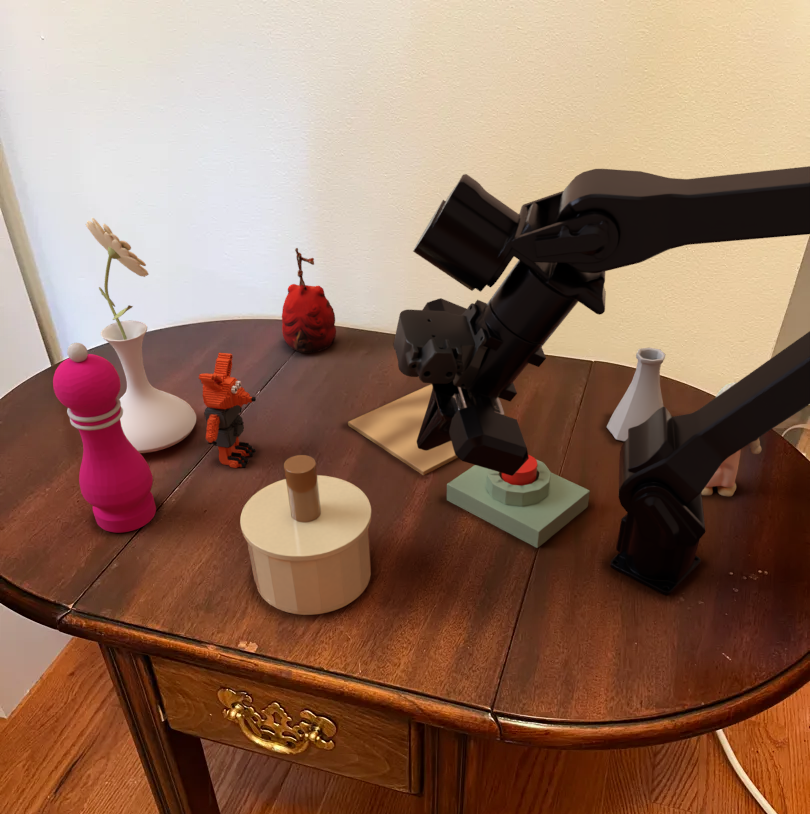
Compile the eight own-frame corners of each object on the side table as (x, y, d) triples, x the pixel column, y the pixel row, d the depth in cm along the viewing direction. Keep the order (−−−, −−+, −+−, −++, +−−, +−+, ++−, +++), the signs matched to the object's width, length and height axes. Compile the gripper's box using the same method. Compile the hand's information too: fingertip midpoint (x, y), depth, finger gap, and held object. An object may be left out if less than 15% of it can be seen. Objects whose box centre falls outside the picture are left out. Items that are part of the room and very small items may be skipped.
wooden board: (511, 430, 100) (511, 426, 100) (423, 475, 94) (423, 471, 93) (434, 386, 109) (434, 382, 108) (348, 425, 102) (347, 421, 102)
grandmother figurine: (739, 476, 92) (768, 373, 84) (751, 497, 89) (782, 393, 81) (669, 479, 92) (692, 376, 84) (679, 500, 89) (704, 396, 81)
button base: (587, 507, 89) (592, 476, 86) (537, 548, 84) (540, 517, 81) (498, 464, 95) (500, 434, 93) (446, 500, 90) (446, 470, 88)
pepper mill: (91, 542, 86) (30, 367, 73) (92, 501, 92) (36, 332, 79) (162, 529, 88) (115, 355, 75) (159, 489, 93) (115, 321, 80)
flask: (663, 414, 102) (679, 339, 96) (672, 447, 97) (689, 370, 90) (603, 412, 103) (615, 338, 97) (608, 445, 98) (621, 368, 91)
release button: (543, 475, 87) (544, 461, 86) (522, 491, 85) (523, 477, 84) (515, 462, 89) (516, 448, 88) (494, 477, 87) (495, 463, 86)
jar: (394, 571, 82) (392, 514, 77) (309, 633, 76) (301, 576, 71) (317, 523, 88) (310, 468, 83) (232, 577, 82) (220, 521, 77)
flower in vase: (207, 449, 99) (163, 238, 83) (108, 471, 96) (42, 257, 80) (187, 397, 108) (144, 198, 92) (96, 416, 105) (35, 214, 89)
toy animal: (251, 481, 94) (234, 386, 86) (206, 474, 95) (186, 381, 87) (277, 442, 100) (264, 350, 92) (235, 436, 101) (218, 345, 93)
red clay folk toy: (341, 335, 121) (333, 231, 111) (331, 358, 115) (322, 251, 106) (289, 333, 121) (277, 229, 112) (277, 356, 116) (263, 249, 106)
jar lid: (398, 519, 78) (396, 460, 73) (301, 586, 71) (293, 524, 67) (311, 470, 84) (305, 412, 80) (215, 526, 77) (202, 467, 73)
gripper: (415, 219, 70) (332, 355, 80) (461, 365, 59) (358, 503, 69) (520, 266, 75) (430, 389, 85) (580, 408, 64) (469, 530, 74)
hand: (421, 446), depth 78 cm, fingers closed
